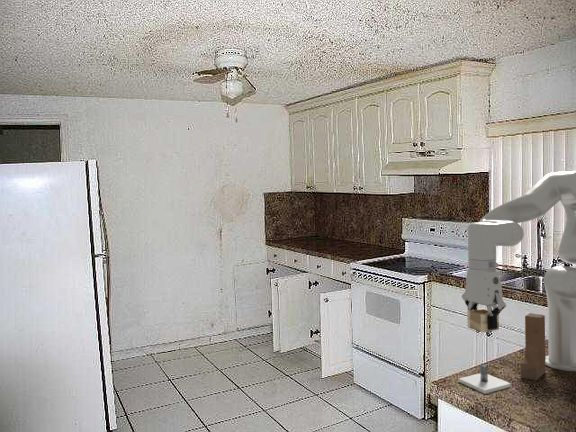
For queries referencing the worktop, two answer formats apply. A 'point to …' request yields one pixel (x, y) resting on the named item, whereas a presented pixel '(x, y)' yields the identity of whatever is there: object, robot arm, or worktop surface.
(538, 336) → the wooden block
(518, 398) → the worktop surface
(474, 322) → the maple collar
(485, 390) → the pin plate
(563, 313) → the robot arm
